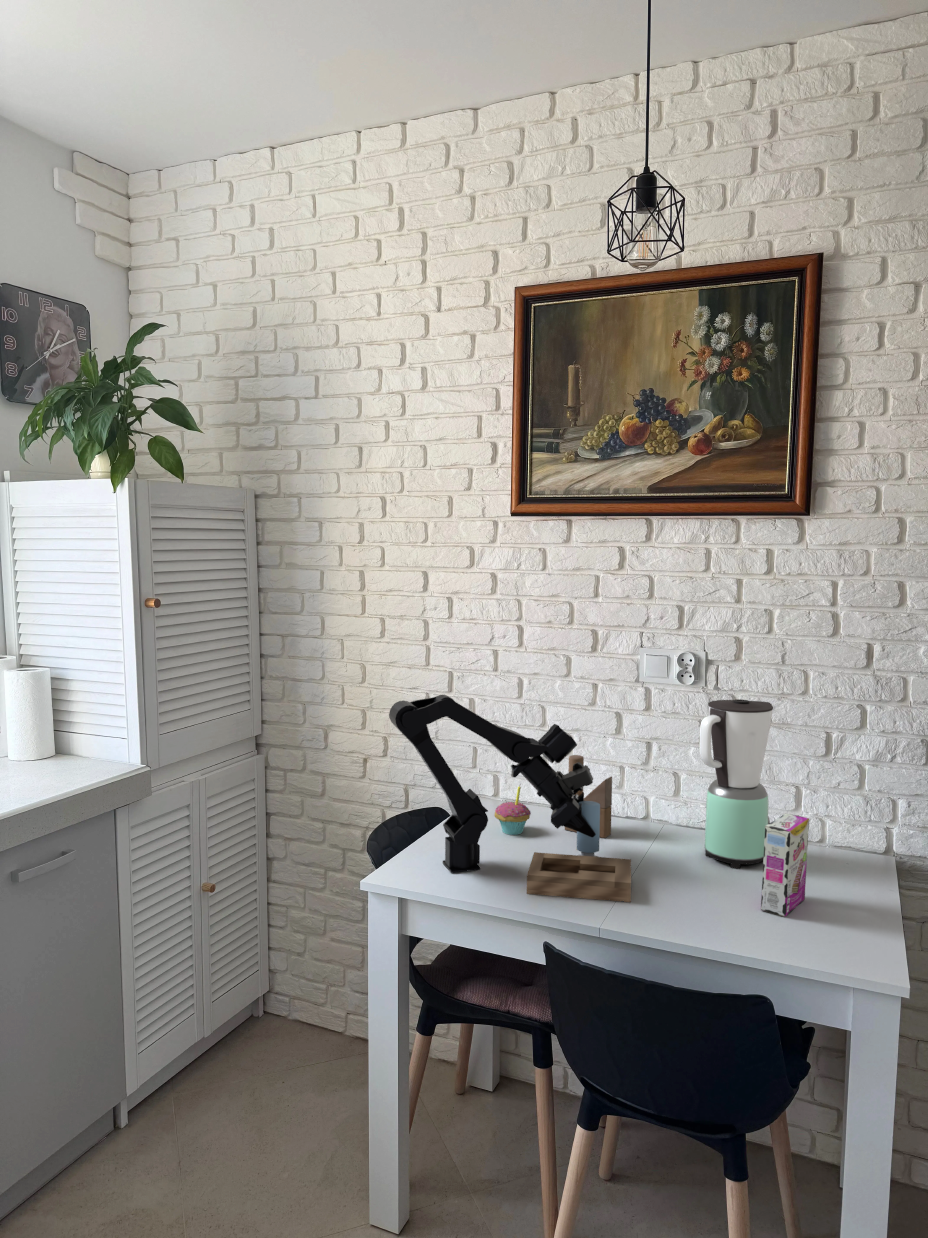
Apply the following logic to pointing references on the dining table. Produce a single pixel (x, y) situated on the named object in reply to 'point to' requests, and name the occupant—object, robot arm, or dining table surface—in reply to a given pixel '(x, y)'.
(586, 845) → the keyhole stud
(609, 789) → the wooden block
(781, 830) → the candy bar box
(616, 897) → the keyhole board
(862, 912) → the dining table surface
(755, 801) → the mint green blender
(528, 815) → the cupcake
